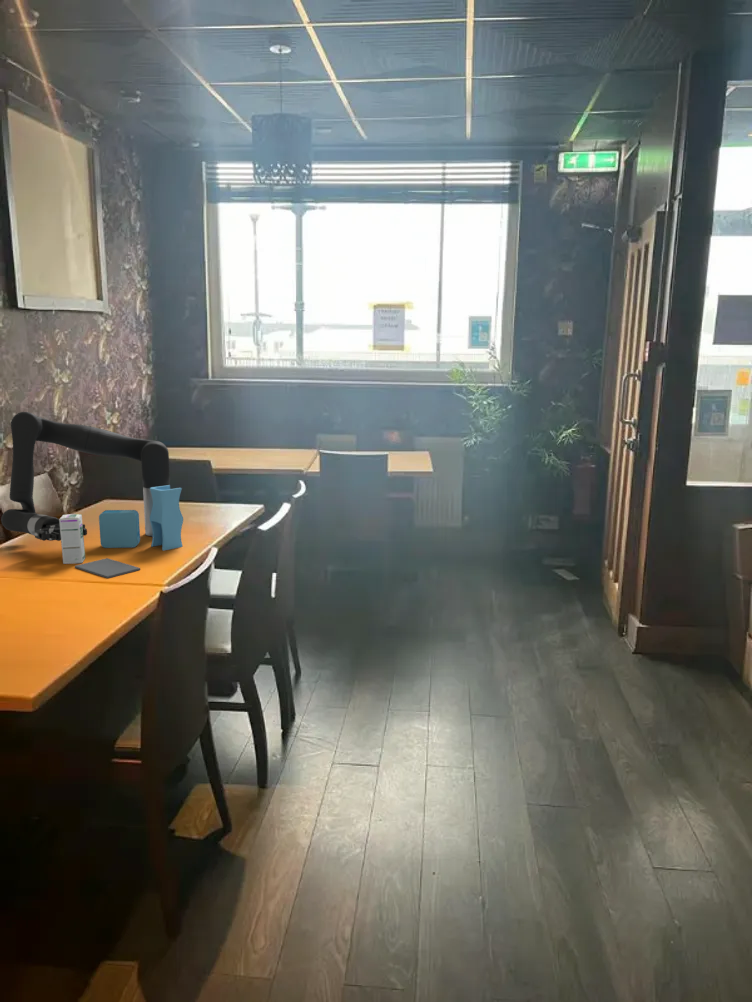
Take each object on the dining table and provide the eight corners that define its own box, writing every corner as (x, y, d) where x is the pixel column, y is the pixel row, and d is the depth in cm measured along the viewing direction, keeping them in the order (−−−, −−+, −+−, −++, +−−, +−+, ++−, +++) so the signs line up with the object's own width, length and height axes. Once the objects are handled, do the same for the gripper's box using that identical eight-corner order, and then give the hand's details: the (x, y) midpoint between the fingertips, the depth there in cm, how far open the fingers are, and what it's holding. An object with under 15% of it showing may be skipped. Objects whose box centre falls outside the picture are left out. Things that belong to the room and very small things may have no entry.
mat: (74, 567, 222) (74, 565, 221) (107, 560, 230) (107, 558, 230) (107, 578, 211) (107, 576, 211) (140, 569, 220) (140, 567, 220)
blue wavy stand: (184, 546, 248) (182, 487, 244) (163, 550, 242) (160, 490, 238) (171, 542, 253) (169, 484, 249) (150, 546, 247) (148, 487, 243)
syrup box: (82, 563, 226) (79, 517, 224) (62, 564, 225) (58, 518, 222) (85, 558, 232) (82, 513, 229) (65, 559, 230) (62, 514, 228)
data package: (140, 544, 250) (138, 509, 248) (137, 547, 245) (135, 512, 243) (104, 544, 249) (101, 510, 246) (100, 548, 244) (98, 512, 242)
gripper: (22, 519, 230) (50, 527, 220) (65, 512, 241) (93, 519, 231) (24, 542, 231) (51, 551, 222) (66, 534, 242) (94, 542, 233)
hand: (72, 534), depth 226 cm, fingers open, 8 cm apart
